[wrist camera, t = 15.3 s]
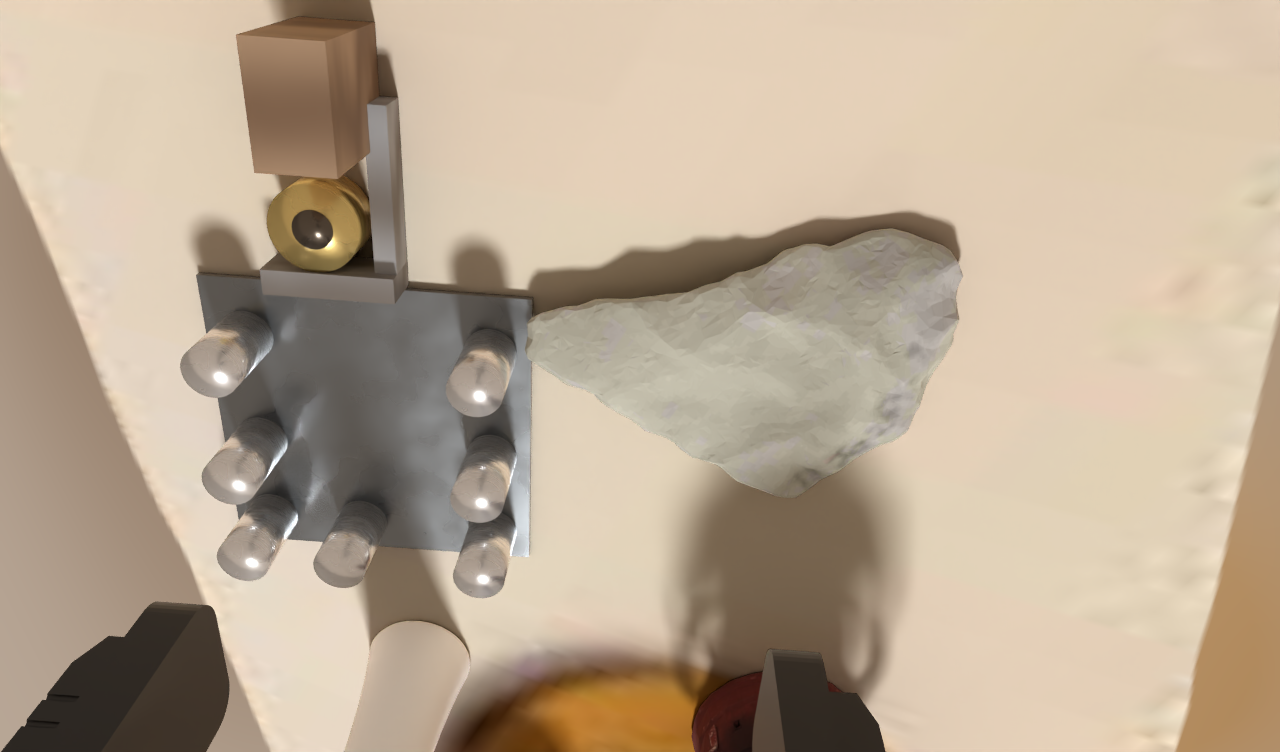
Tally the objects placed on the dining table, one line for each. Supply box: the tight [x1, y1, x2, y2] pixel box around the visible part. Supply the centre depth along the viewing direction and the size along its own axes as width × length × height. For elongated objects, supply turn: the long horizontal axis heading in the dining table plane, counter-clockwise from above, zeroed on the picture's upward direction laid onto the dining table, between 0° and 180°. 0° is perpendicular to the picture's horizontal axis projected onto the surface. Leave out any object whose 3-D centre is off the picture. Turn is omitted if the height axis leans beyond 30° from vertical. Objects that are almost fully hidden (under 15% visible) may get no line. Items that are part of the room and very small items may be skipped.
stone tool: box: [525, 228, 963, 498], centre depth 43 cm, size 15×4×20 cm
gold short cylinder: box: [267, 175, 372, 272], centre depth 40 cm, size 4×4×2 cm
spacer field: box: [180, 273, 533, 598], centre depth 45 cm, size 16×16×4 cm
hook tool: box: [236, 17, 409, 304], centre depth 38 cm, size 12×6×6 cm, turn 176°
